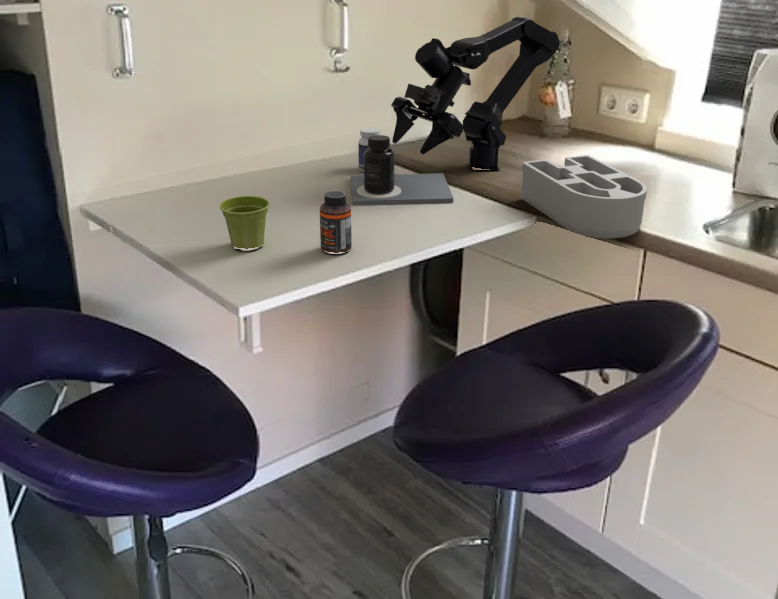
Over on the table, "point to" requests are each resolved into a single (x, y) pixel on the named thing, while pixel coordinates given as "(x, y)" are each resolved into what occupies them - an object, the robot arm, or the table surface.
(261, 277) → the table surface
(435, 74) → the robot arm
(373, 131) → the pill bottle
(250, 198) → the plant pot
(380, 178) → the supplement bottle
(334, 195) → the supplement bottle
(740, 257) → the table surface
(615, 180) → the grey compartment organizer
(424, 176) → the board
